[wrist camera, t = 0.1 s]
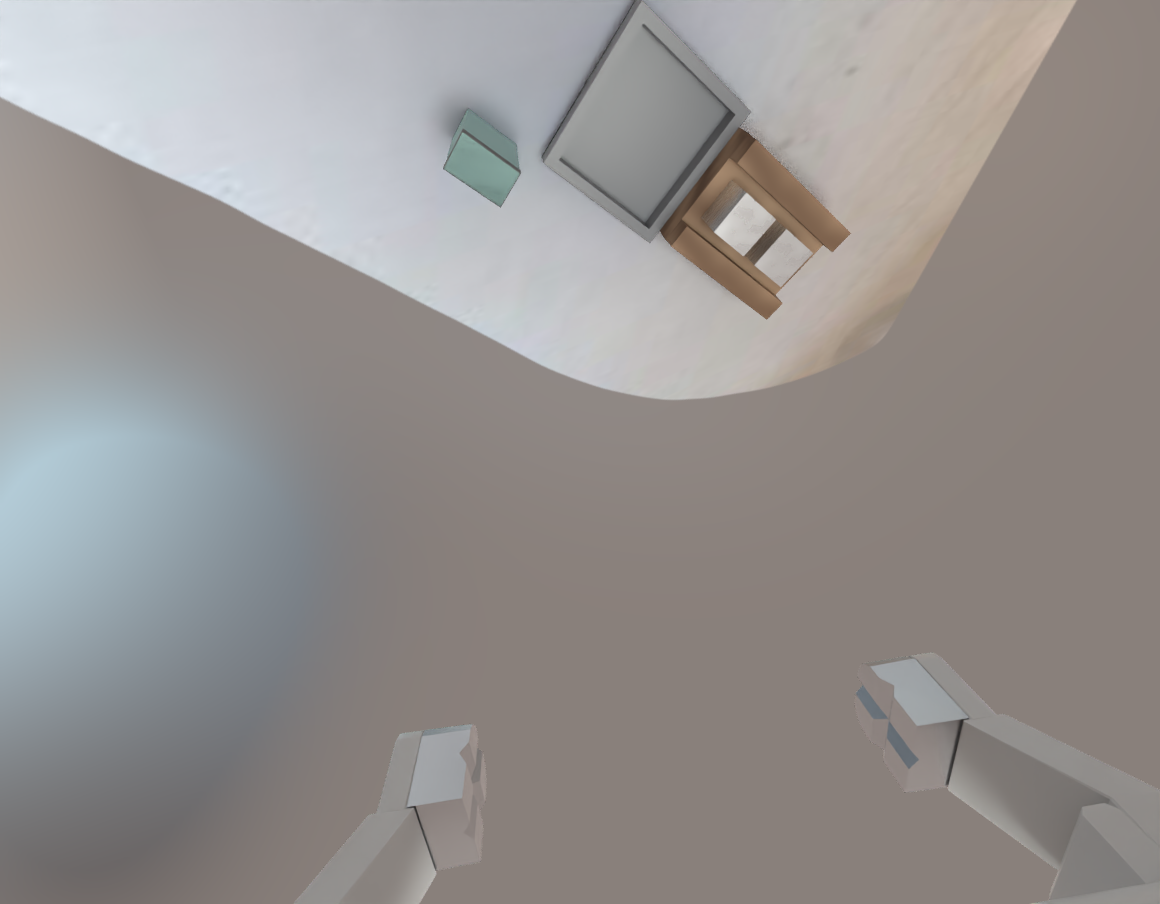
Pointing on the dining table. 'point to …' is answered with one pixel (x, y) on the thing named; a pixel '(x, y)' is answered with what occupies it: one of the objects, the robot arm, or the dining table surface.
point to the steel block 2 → (778, 253)
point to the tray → (644, 125)
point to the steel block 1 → (737, 218)
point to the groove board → (774, 194)
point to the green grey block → (483, 158)
